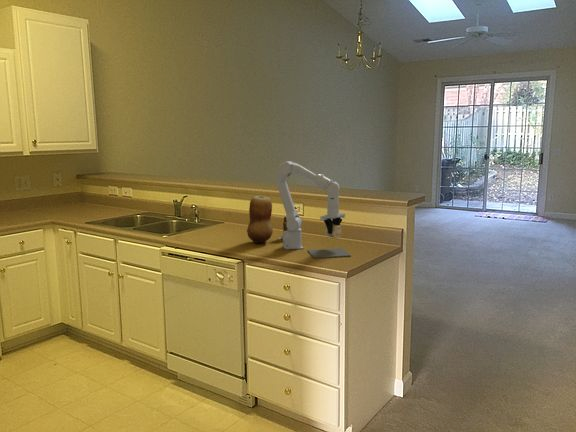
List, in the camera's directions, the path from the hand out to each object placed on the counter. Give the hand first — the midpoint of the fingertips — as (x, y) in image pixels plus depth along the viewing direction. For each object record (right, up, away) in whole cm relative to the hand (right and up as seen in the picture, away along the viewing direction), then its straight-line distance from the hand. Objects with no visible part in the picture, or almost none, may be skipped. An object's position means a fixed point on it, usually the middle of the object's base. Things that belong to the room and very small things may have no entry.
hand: (332, 233), depth 246 cm
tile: (0, -2, 0) cm, 2 cm away
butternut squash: (-37, -6, +17) cm, 41 cm away
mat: (-3, -10, -7) cm, 12 cm away
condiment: (-23, -4, +28) cm, 36 cm away
